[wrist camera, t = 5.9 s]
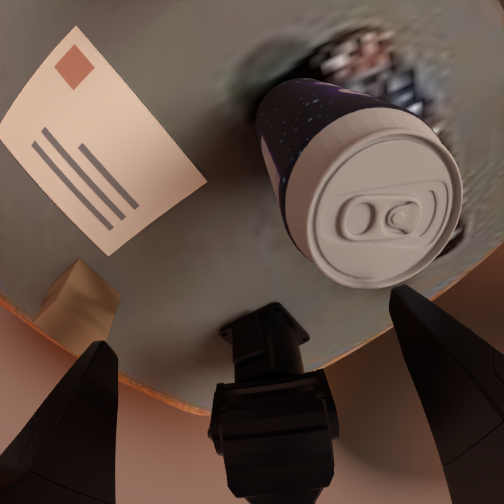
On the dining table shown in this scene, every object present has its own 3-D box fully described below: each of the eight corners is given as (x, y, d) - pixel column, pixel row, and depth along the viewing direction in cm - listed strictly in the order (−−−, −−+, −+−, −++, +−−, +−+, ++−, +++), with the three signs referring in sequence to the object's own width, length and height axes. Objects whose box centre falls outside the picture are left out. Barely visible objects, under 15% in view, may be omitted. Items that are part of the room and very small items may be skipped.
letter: (207, 181, 19) (207, 182, 19) (108, 255, 22) (108, 256, 22) (76, 26, 12) (75, 25, 11) (-4, 132, 14) (-5, 132, 14)
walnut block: (121, 294, 24) (107, 339, 20) (92, 314, 26) (77, 356, 22) (79, 257, 22) (56, 299, 18) (53, 282, 23) (32, 322, 19)
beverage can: (341, 163, 19) (441, 288, 9) (255, 166, 18) (285, 308, 9) (345, 79, 15) (489, 129, 6) (252, 77, 15) (290, 105, 5)
